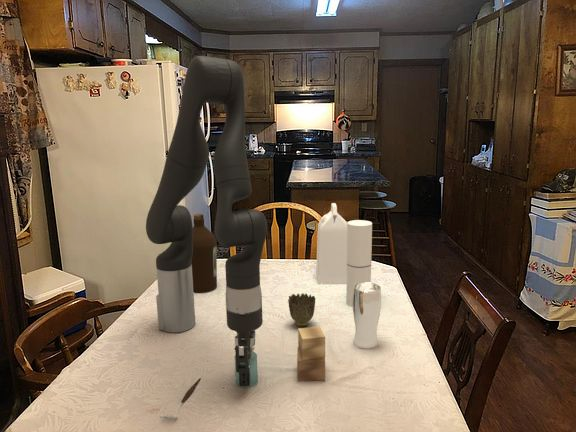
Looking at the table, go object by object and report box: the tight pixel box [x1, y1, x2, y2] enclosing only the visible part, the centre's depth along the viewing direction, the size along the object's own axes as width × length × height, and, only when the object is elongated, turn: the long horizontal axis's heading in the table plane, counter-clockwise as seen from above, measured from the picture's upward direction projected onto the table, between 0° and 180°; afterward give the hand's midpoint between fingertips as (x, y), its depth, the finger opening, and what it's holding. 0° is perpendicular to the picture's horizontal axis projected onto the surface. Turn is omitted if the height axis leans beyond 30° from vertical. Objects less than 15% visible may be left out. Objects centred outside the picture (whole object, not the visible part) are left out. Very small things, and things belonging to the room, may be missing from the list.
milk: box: [315, 202, 348, 285], centre depth 161 cm, size 12×12×26 cm
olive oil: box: [192, 213, 218, 294], centre depth 154 cm, size 11×11×25 cm
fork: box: [159, 377, 201, 420], centre depth 96 cm, size 3×16×2 cm, turn 167°
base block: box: [296, 348, 326, 382], centre depth 104 cm, size 6×6×5 cm
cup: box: [287, 293, 316, 328], centre depth 127 cm, size 8×7×8 cm
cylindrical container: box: [345, 219, 373, 308], centre depth 139 cm, size 7×7×25 cm
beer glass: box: [352, 282, 382, 350], centre depth 116 cm, size 7×7×15 cm
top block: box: [297, 326, 326, 360], centre depth 103 cm, size 5×5×5 cm
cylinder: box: [234, 351, 259, 388], centre depth 102 cm, size 5×5×6 cm
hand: (246, 375), depth 102 cm, fingers open, 7 cm apart
